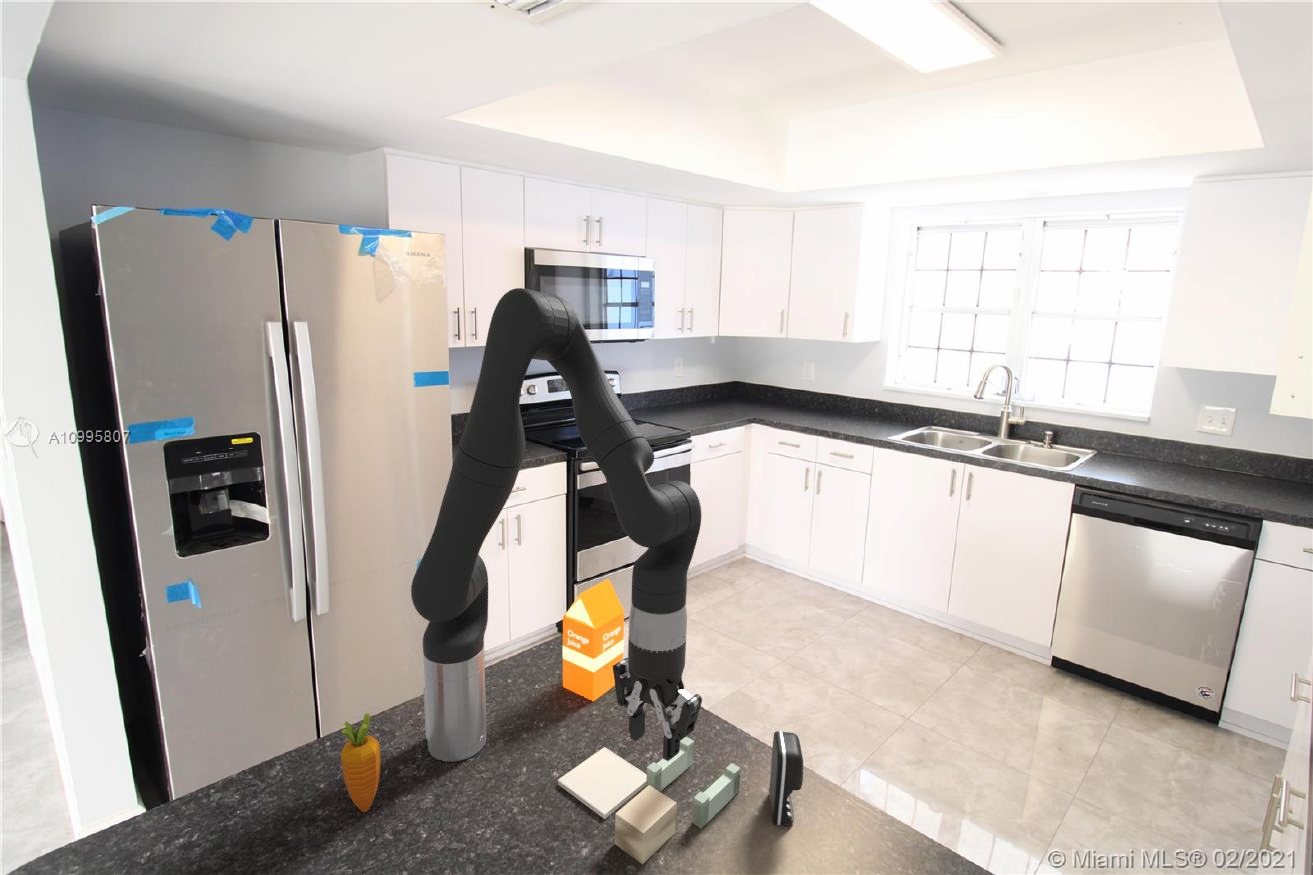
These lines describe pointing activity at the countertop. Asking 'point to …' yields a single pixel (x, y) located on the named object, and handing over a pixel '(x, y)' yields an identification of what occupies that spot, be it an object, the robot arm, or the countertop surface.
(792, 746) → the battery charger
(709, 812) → the rails
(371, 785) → the carrot
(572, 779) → the plate
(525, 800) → the countertop surface
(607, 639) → the orange juice
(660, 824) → the block
